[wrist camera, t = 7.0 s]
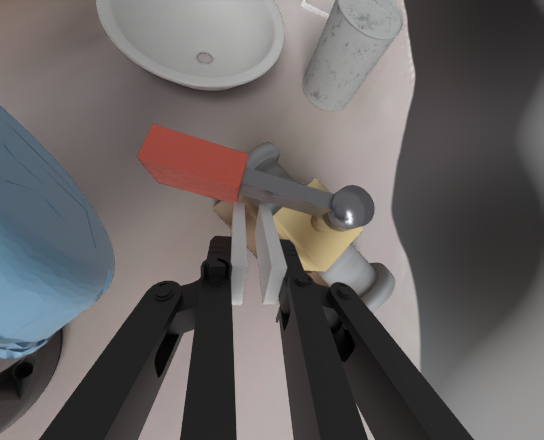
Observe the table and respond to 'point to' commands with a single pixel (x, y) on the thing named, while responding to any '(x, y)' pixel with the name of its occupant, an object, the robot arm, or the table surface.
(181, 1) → the sink basin
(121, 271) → the table surface
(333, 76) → the speckled concrete cylinder
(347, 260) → the valve stand
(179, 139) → the lever
